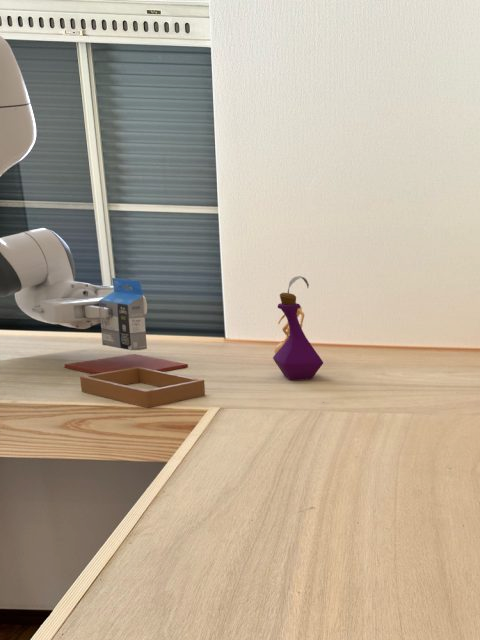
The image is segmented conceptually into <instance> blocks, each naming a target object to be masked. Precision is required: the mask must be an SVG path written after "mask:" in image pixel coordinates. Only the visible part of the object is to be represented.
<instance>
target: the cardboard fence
mask: <svg viewBox="0 0 480 640" xmlns="http://www.w3.org/2000/svg"><path fill="white" fill-rule="evenodd" d="M79 381H80V389H81V392H82V393H86V394H89V395H94V396H98V397H102V398H106V399H110V400H114V401H118V402H122V403H127V404H131V405H135V406H138V407H143V408H147V409H149V408H153V407H158V406H161V405H166V404H171V403H175V402H180V401H185V400H188V399H189V400H190V399H195V398H198V397H203V396H206V389H205V388H206V386H205V380H204V379H201V378H196V377H192V376H191V377H190V376H185V375H180V374H175V373H171V372H167V371H163V372H161V371H157V370H152V369H147V368H142V367H135V368H129V369H123V370H116V371H110V372H104V373H98V374H92V373H91V374H86V375H80V376H79ZM137 383H142V384H146V385H151V386H155V387H156V388H150V389H144V388H139V387H136V386H131V385H132V384H137Z"/></svg>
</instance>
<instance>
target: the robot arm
mask: <svg viewBox="0 0 480 640" xmlns="http://www.w3.org/2000/svg"><path fill="white" fill-rule="evenodd" d="M25 83H26V82H25V79H24V77H23V74H22V72H21V68H20V66H19V64H18V61H17V59H16V57H15V54H14V52H13V49H12V48H11V45H10V44H9V43H8V41H7V40H6V39H5V38H4V37H2V36H1V35H0V177H2V175H4V174H5V173H6V172H7V171H8V170H9V169H10V168H12V167H13V166H15V165H16V164H19V162H20V161H22V160H23V159H24V158H26V156H27V155H28V154H29V153H30V152H31V150H32V148H33V147H34V145H35V142H36V138H37V126H36V120H35V116H34V112H33V107H32V105H31V100H30V96H29V93H28V89H27V86H26V84H25ZM112 292H114V287H113V285H96V284H91V283H88V282H81V281H76V267H75V260H74V257H73V254H72V251H71V249H70V247H69V245H68V244H67V242H66V241H65V240H64V239H63V238H62V237H61V236H60V235H58V234H57V233H56V232H55V231H53V230H51V229H49V228H47V227H39V228H35V229H30V230H25V231H21V232H19V233H15V234H10V235H7V236H2V237H0V298H6V297H8V296H12V295H13V294H14V299H15V303H16V305H17V307H18V308H19V309H20V310H21V311H22V312H23V313H24V314H26V315H27V316H28V317H30V318H32V319H34V320H36V321H39V322H42V323H46V324H51V325H60V326H63V327H67V328H73V329H77V330H78V329H79V330H87V329H89V328H91V327H93V326H95V325H99V324H101V320H100V318H112V317H113V314H112V312H113V311H112V308H108V307H99V300H100V299H102V298H104V297H106V296H107V295H109V294H110V293H112ZM143 301H144V316H145V315H147V313H148V304H147V299H146V297H145V295H143Z"/></svg>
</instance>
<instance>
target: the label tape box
mask: <svg viewBox="0 0 480 640" xmlns="http://www.w3.org/2000/svg"><path fill="white" fill-rule="evenodd" d="M111 282H112V286H113V287H114V292H112V293H110V294H109V295H107V296H106V297H104V298H102V299H100V300H99V307H108V308H112V311H113V312H112V314H113V317H112V318H100V320H101V323H100V330H101V342H102V343H101V345H102V346H105V347H106V346H107V347H110V348H111V347H112V348H117V349H122V350H127V351H144V350H147V349H148V344H147V329H146V319H145V315H144V301H143V296H144V291H143V287H142V282H141V281H140V280H135V279H125V278H116V277H111ZM126 286H128V287H132V289H128V288H124V287H126Z"/></svg>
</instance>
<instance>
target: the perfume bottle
mask: <svg viewBox="0 0 480 640" xmlns="http://www.w3.org/2000/svg"><path fill="white" fill-rule="evenodd" d="M300 279H302V280H303V281H304V283H305V284H306V287H307V289H309V288H310V287H309V286H310V284H309V282H308V280H307V279H306V277H305V276H302V275H297V276H294V277H292V278H290V281H289V283H288V288H287V292H281V293H280V294H279V298H280V303H278V304H277V309H279V310H281V312H283V315H284V314H285V315H286V316H285V317H286V320H287V321H288V324H289V330H290V334H289V337H288V339H287V341H286V342H285V343H284V345H283V346H282V347H281V348H280V349H279V351H278V352H277V353H276V354H275V353H274V355H273V357H272V360H273V361H274V362H275V364H276V366H277V367H278V368H279V370H280V372H281V373H282V375H283V376H284V377H285V378H287V379H288V380H290V381H304V380H313V378H314V377H315V375H316V374H317V373H318V371H319V370H320V368H321V367H322V365H324V361H323V360H322V358H321V357H320V355H319V354H318V352H317V351H316V350H315V348H314V347H313V344H311V343H310V341H309V340H308V338H307V336H306V335H305V332H304V331H303V329H302V328H303V327H302V328H301V326H300V324H301V323H300V321H299V317H298V318H297V310H298V309H299V308H300V306H301V304H300V303H298V302H297V296H296V295H295V294H293V293H291V292H290V288H291V287H292V285H293V284H294V283H296V281H297V280H300Z"/></svg>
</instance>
